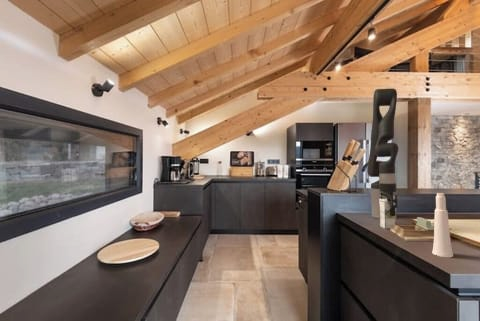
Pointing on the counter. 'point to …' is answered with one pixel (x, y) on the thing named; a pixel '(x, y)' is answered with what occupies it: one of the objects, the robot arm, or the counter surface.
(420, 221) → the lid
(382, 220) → the syrup box
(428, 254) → the counter surface
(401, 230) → the board
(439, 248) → the cosmetic bottle
